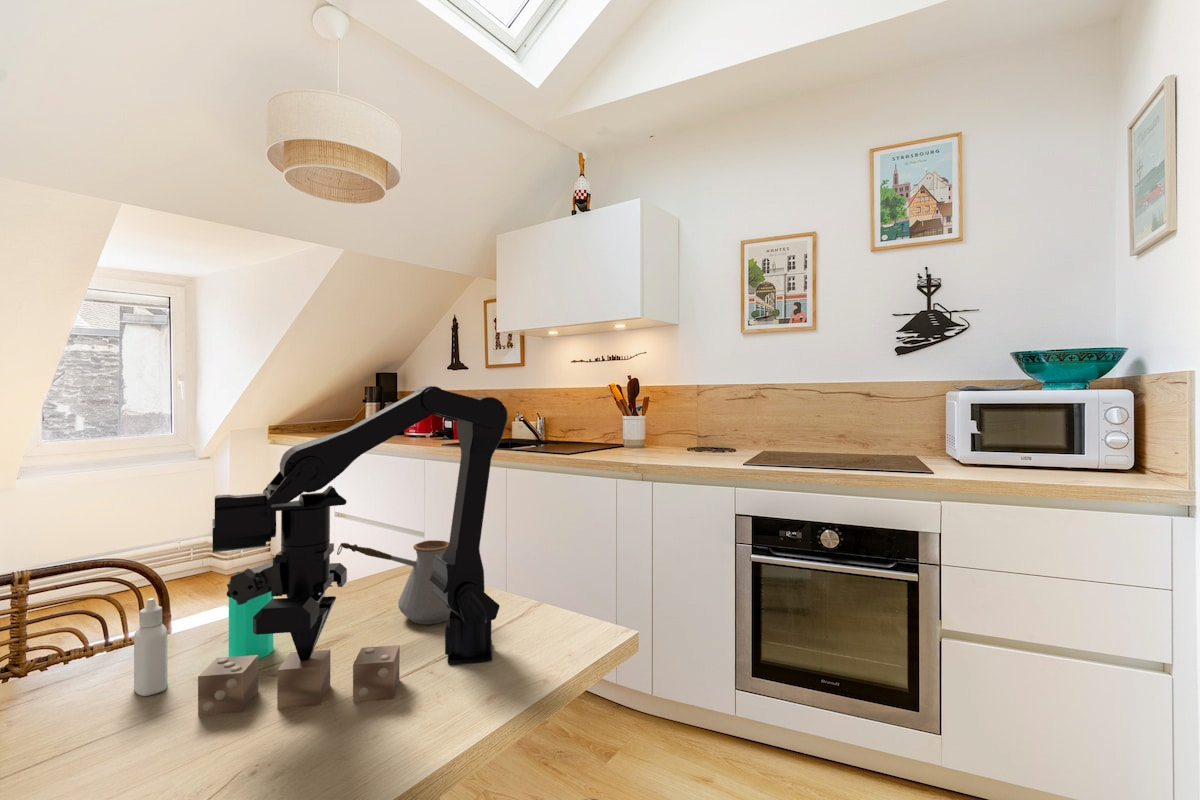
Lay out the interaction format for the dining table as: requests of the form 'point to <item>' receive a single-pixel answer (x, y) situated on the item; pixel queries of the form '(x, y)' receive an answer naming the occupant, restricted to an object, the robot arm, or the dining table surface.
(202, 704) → the three dot block
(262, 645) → the candle
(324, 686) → the plain block
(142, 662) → the eye dropper bottle
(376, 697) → the two dot block
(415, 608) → the coffee pot
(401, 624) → the dining table surface
